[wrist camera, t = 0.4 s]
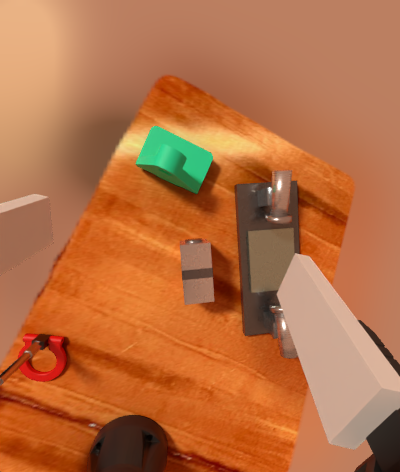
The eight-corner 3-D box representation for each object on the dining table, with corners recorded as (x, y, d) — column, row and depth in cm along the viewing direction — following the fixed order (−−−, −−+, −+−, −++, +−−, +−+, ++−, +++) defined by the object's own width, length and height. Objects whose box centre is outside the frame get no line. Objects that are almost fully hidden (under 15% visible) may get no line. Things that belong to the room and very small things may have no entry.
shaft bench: (298, 330, 46) (327, 357, 37) (243, 337, 45) (259, 367, 36) (292, 175, 43) (322, 164, 34) (234, 179, 42) (249, 168, 33)
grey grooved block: (209, 290, 43) (214, 303, 36) (183, 292, 43) (184, 307, 36) (205, 236, 42) (210, 240, 35) (179, 238, 42) (179, 242, 35)
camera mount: (212, 158, 41) (223, 138, 31) (196, 195, 42) (201, 187, 31) (154, 130, 40) (146, 99, 30) (138, 167, 40) (124, 149, 30)
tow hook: (66, 378, 42) (70, 334, 41) (15, 452, 29) (19, 391, 28) (20, 375, 41) (23, 330, 40) (-52, 449, 29) (-50, 386, 28)
